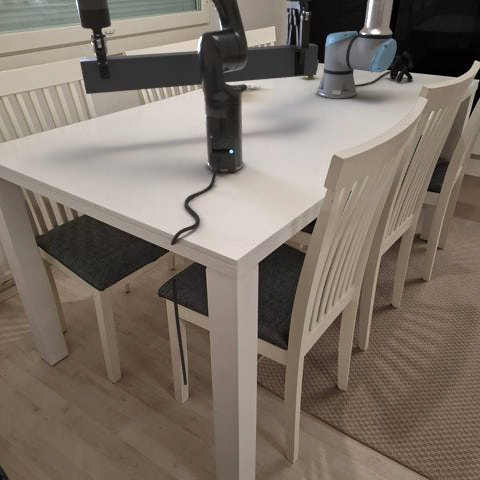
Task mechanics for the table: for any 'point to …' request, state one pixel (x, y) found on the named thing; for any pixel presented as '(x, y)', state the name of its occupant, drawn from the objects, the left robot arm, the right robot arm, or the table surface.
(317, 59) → the cup
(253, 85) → the spray bottle
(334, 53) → the right robot arm
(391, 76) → the squiggle
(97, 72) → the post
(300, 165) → the table surface
